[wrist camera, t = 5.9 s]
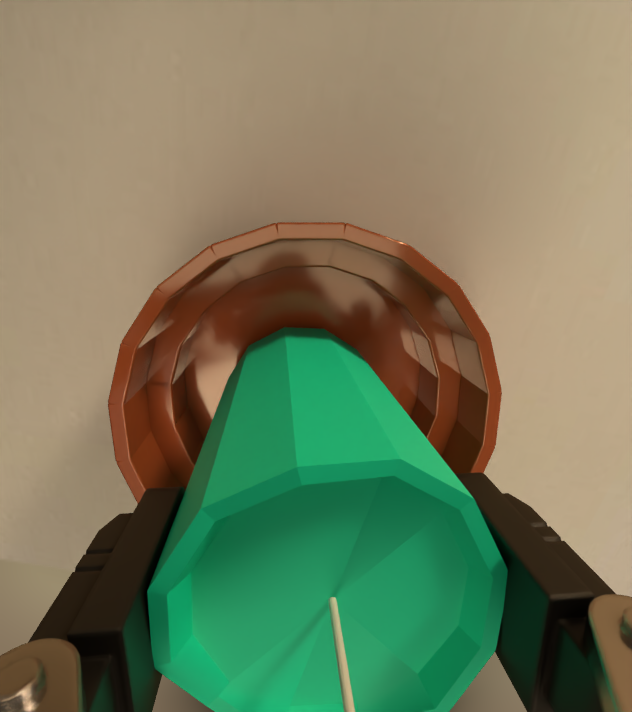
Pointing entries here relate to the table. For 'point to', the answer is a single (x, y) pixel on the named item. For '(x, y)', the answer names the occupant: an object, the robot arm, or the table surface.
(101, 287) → the table surface
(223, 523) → the candle
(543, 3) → the table surface
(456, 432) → the bowl
